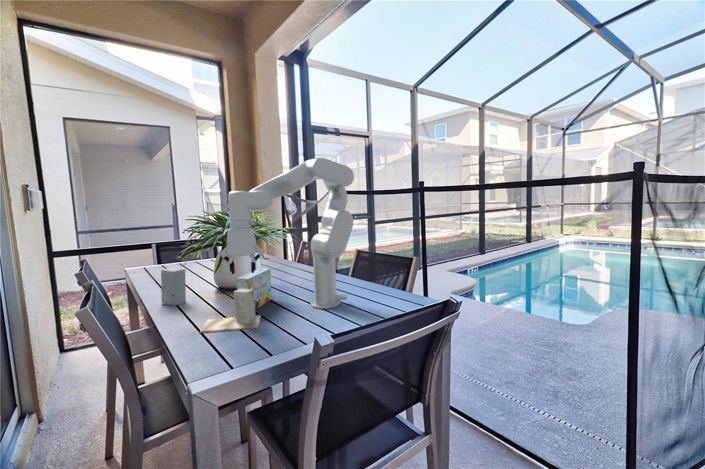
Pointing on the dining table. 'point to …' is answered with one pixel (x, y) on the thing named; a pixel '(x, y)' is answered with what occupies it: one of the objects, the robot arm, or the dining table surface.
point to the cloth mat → (228, 324)
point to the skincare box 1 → (173, 286)
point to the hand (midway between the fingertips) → (243, 272)
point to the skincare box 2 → (244, 306)
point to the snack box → (257, 285)
